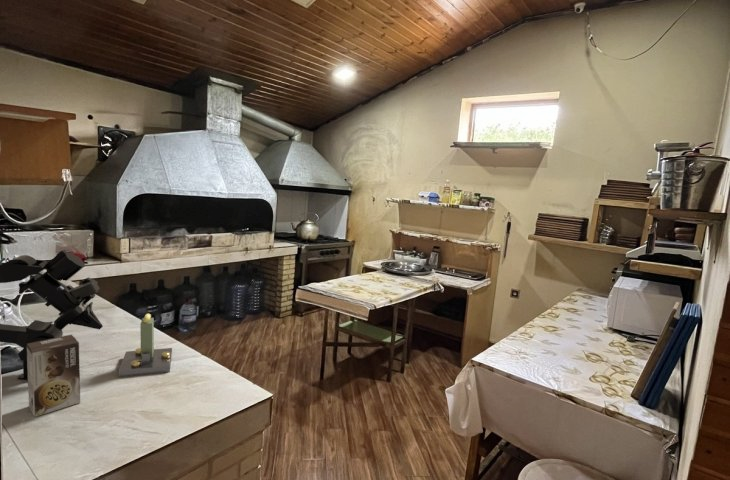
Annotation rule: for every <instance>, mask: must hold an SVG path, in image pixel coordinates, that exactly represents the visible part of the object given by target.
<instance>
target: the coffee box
mask: <svg viewBox="0 0 730 480" xmlns="http://www.w3.org/2000/svg"><path fill="white" fill-rule="evenodd" d="M27 369H28V379H27V388H28V389H27V393H28V407H29V409H30V411H31V413H32V415H33V416H34V417H35V418H36V417H40V416H41V415H46V414H48V413H52V412H55V411H58V410H61V409H65V408H68V407H70V406H74V405H76V404H79V403H81V377H80V376H81V373H80V342H79V341H78V340H77V339H76V337H75V336H74V335H73V334H68V335H62V337H57V338H52V339H47V340H42V341H38V342H33V343H28V344H27Z"/></svg>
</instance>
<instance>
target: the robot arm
mask: <svg viewBox="0 0 730 480" xmlns="http://www.w3.org/2000/svg"><path fill="white" fill-rule="evenodd" d="M85 267H86V264H85V262H84V261H83V260H82V259H81V258H80V257H79V256H78V255H75V254H74V253H71V252H68V251H66V250H65V249H63V250H60V251H59V252H58V253H57V254H56V255H55V256H54V257H53V258H52V259H50V260H43V259H36V258H34V257H32V256H30V255H29V254H28V255H27V254H23V255H19V256H17V257H15V258H12V259H10V260H8V261H5V262H3V263H1V264H0V284H6V283H12V282H13V283H14V282H18V281H19V283H18V286H19V287H18V294H20V295H21V294H24V293H25V292H26V291H28V290H29V291H31V292H32V293H34V294H35V295H36V296H37V297H39V298H40V299H42V300H43V301H44V302H46V303H45V304H44V306H46V307H50V306H52V307H53V308H54V309H55V310H57V311H58V312H59V313H58V317H57V318H55V320H54V321H48V322H46V321H42V320H37V319H36V320H33V321H32V322H31V323H29V325H26V326H25V325H23V326H22V325H13V324H5V323H4V324H3V323H0V343H5V344H6V343H7V344H13V345H17V346H18V347H20V348H22V349H21V350H20V351H19V352H17V355H18V357H19V359H20V361H22V368H23V371H22V373H21V374H20V375H19V376H17V380H28V369H27V344H28V343H33V342H38V341H42V340H47V339H52V338H57V337H62V336H64V335H63V334H64V332H63V329H64V328H65V327H67V326H68V325H75V326H81V327H86V328H92V329H96V330H101V329H102V328H103V326H104V325H103V324H102V323H101V321H100V320H99V318H98V317H97V316H96V314H95V313H94V311H93V304H94V303H93V301H91V300H93V299H94V298H95V296H96V294H97V293H99V290H101V288H100V287H99V285H98V283H99V281H97V280H95V279H92V278H91V277H89V276H88V277H86V278H84V279H82V280H81V284H78V285H77V286H72V285H69V284H68V285H65V284H63V283H62V282H61V281H69V280H70V279H71V278H72V277H74V276H75V275H76V274H78V272H80V271H81V270H82V269H83V268H85ZM43 271H45V272H44V273H42V274H39V273H41V272H43ZM31 276H32V277H31ZM29 277H31V278H30V279H28V280H27V281H23V280H25V279H26V278H29ZM20 281H21V282H20ZM90 301H91V302H90ZM88 302H90V303H89V304H87V303H88Z"/></svg>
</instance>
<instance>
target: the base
mask: <svg viewBox="0 0 730 480" xmlns="http://www.w3.org/2000/svg"><path fill="white" fill-rule="evenodd" d="M172 357H173V348H172V347H169V348H168V347H166V348H154V353H153V357H152V358H150V352H148V353H142V359H141V347H139V348H136V349H135V350H132V351H131V350H130V351H125V353H124V356H123V358H122V360H121V364H120V365H119V369H118V378H124V377H134V376H144V375H153V374H154V375H155V374H164V373H170V372H171V365H172V359H173V358H172Z"/></svg>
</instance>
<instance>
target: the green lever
mask: <svg viewBox="0 0 730 480" xmlns="http://www.w3.org/2000/svg"><path fill="white" fill-rule="evenodd" d="M154 325H155V321H154V317H152V314H150V313H146V314H145V315H144V317H143V318H142V319H141V322H140V325H139V326H140V348H141V359H142V353H148V352H150V358H152V357H153V353H154V349H155V347H154V346H155V345H154V344H155V342H154V341H155V340H154V339H155V338H154V337H155V336H154V335H155V333H154V332H155V331H154V330H155V328H154V327H155V326H154Z"/></svg>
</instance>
